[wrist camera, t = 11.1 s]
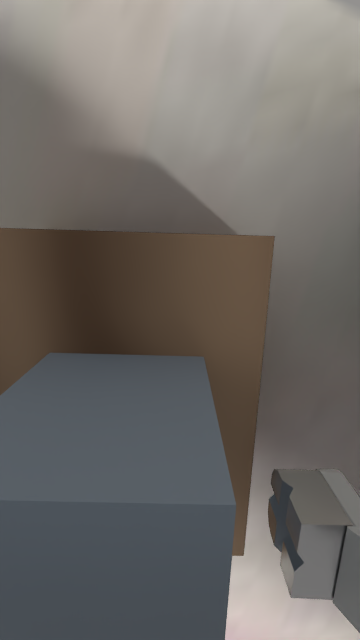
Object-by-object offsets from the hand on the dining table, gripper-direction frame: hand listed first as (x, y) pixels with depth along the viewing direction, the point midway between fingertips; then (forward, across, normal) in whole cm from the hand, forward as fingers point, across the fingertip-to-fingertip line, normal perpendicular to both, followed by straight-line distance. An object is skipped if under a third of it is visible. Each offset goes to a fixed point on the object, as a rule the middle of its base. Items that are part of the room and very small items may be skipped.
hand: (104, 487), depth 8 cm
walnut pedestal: (+8, 0, 0) cm, 8 cm away
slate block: (+3, 0, 0) cm, 3 cm away
